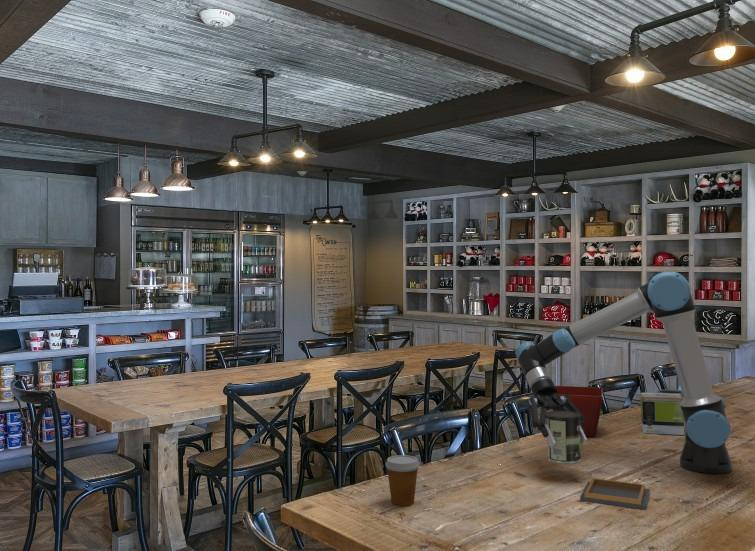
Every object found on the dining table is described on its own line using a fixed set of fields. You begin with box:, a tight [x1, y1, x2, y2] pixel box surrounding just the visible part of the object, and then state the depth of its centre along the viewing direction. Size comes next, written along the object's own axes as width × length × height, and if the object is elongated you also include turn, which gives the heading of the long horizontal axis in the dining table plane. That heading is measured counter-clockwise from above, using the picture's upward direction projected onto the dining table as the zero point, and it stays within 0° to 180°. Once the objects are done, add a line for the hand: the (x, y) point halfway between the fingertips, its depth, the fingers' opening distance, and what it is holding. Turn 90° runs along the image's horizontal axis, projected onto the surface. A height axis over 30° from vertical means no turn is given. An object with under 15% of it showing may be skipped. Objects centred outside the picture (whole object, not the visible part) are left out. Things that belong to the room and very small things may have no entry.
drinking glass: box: [656, 389, 684, 398], centre depth 280 cm, size 10×10×12 cm
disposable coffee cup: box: [385, 454, 420, 507], centre depth 183 cm, size 10×10×12 cm
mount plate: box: [579, 477, 651, 510], centre depth 185 cm, size 17×15×2 cm
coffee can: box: [545, 410, 582, 465], centre depth 202 cm, size 10×10×14 cm
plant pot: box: [552, 385, 604, 438], centre depth 259 cm, size 19×19×17 cm
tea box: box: [640, 392, 685, 436], centre depth 259 cm, size 15×10×15 cm
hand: (568, 443), depth 200 cm, fingers closed on coffee can, 10 cm apart
